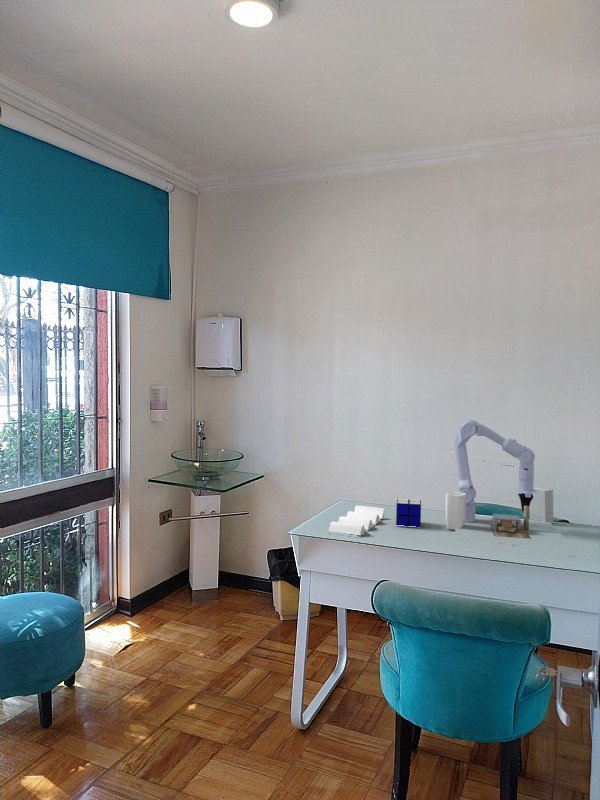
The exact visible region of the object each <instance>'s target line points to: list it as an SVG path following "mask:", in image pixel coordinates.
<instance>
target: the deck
mask: <svg viewBox="0 0 600 800" xmlns="http://www.w3.org/2000/svg"><path fill="white" fill-rule="evenodd" d="M489 525H490V529H491V530H492V534H493V536H494V537H502V538H503V537H504V538H517V539H531V540H532V537H531V536H530V534H529V532H528V529H518V528H516V532H509V531H498V527H497V532H494V530H493V527H492V523H489Z"/></svg>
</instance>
